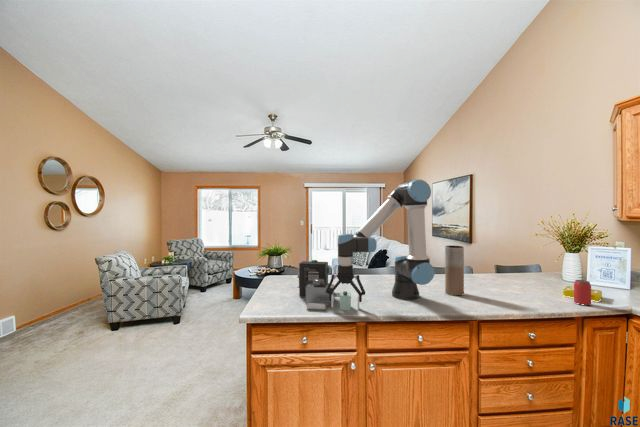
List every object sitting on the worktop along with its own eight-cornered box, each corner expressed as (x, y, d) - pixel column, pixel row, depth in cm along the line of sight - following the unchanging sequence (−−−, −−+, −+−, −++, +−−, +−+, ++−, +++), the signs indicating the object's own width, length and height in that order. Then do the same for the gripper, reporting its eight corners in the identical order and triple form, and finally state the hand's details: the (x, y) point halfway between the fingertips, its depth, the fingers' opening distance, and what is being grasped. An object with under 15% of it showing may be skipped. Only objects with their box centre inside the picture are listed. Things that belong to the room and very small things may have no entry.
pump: (350, 306, 146) (350, 289, 146) (350, 310, 140) (350, 293, 140) (341, 306, 147) (341, 289, 147) (339, 310, 141) (339, 292, 141)
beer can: (587, 307, 145) (587, 283, 145) (571, 303, 150) (571, 280, 151) (593, 305, 148) (593, 281, 148) (577, 301, 154) (577, 279, 154)
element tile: (599, 303, 151) (599, 294, 151) (562, 297, 163) (562, 289, 163) (602, 298, 161) (602, 289, 161) (567, 292, 172) (567, 284, 172)
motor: (341, 301, 155) (341, 278, 155) (338, 311, 139) (338, 286, 139) (309, 299, 158) (308, 277, 158) (301, 309, 142) (301, 285, 142)
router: (328, 298, 161) (328, 262, 161) (296, 296, 165) (296, 261, 165) (330, 294, 169) (330, 260, 169) (300, 292, 173) (300, 259, 173)
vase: (464, 292, 171) (464, 246, 171) (462, 296, 163) (462, 247, 163) (446, 290, 176) (446, 245, 176) (444, 294, 168) (443, 246, 168)
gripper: (370, 264, 145) (370, 306, 145) (322, 262, 150) (322, 304, 149) (370, 266, 138) (370, 311, 138) (319, 265, 142) (319, 308, 142)
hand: (345, 307), depth 144 cm, fingers open, 12 cm apart
